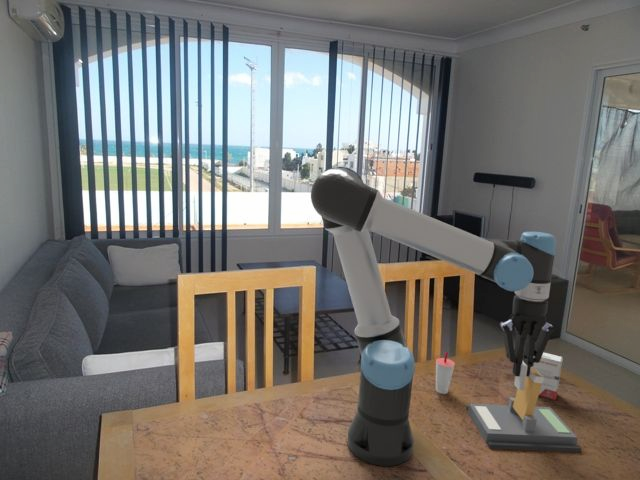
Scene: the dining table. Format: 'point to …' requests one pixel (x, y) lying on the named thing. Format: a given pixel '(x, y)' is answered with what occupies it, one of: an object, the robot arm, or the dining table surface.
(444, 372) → the cup
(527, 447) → the dark grey edge strip
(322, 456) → the dining table surface
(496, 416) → the panel
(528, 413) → the breaker lever
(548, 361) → the ink box
